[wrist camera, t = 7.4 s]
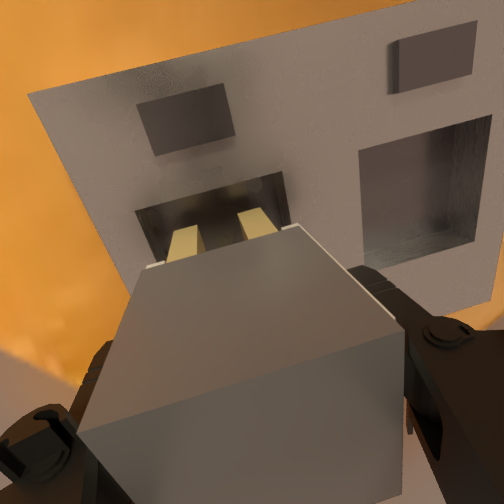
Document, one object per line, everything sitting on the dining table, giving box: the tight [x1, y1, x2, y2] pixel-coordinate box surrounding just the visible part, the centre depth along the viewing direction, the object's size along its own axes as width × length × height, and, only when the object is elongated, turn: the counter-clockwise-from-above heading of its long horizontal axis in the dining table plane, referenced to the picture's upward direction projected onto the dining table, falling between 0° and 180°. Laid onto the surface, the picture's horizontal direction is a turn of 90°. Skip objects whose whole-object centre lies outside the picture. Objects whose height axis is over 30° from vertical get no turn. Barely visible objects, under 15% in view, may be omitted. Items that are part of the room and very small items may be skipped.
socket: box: [27, 0, 504, 316], centre depth 15 cm, size 16×20×3 cm
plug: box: [76, 207, 405, 504], centre depth 9 cm, size 5×5×10 cm
